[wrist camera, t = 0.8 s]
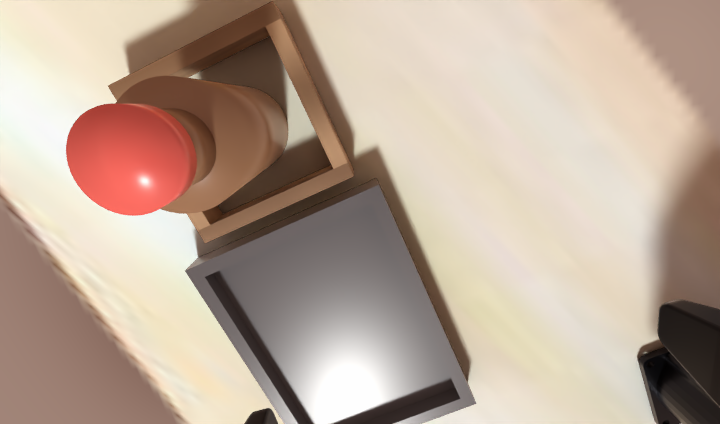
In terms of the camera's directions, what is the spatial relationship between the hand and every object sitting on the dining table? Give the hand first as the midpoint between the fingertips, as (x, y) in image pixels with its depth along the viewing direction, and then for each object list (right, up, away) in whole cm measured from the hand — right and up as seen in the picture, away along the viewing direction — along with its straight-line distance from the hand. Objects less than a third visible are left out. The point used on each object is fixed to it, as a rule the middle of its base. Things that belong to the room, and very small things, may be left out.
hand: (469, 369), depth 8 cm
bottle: (-9, +8, +12) cm, 17 cm away
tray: (-4, -4, +16) cm, 17 cm away
